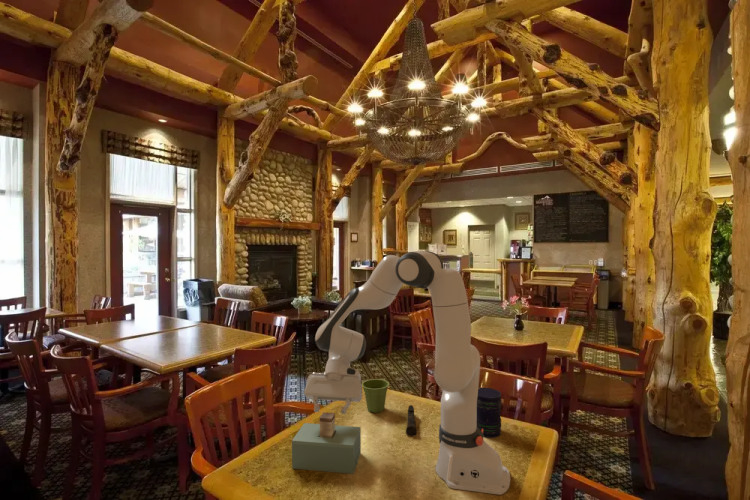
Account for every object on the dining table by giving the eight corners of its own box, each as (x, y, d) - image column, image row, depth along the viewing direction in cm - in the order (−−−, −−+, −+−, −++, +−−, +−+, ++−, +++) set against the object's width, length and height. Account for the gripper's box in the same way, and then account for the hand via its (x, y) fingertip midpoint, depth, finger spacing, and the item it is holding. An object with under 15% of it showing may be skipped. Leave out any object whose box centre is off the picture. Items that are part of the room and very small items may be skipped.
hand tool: (416, 437, 143) (416, 424, 143) (405, 436, 144) (405, 424, 144) (417, 414, 162) (417, 403, 162) (408, 414, 163) (408, 403, 163)
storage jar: (475, 436, 143) (475, 396, 143) (473, 424, 153) (473, 387, 152) (503, 439, 141) (503, 398, 141) (499, 426, 151) (499, 388, 151)
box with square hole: (360, 453, 132) (360, 427, 132) (353, 473, 121) (353, 445, 120) (304, 448, 135) (304, 423, 135) (292, 468, 124) (291, 440, 123)
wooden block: (334, 442, 130) (334, 413, 129) (331, 449, 126) (331, 418, 125) (323, 442, 130) (323, 412, 130) (319, 448, 126) (319, 417, 126)
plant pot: (377, 401, 175) (377, 376, 175) (394, 410, 166) (394, 384, 166) (356, 408, 168) (356, 383, 167) (373, 418, 158) (373, 391, 158)
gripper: (307, 368, 140) (298, 406, 130) (362, 371, 136) (357, 410, 127) (311, 376, 144) (302, 413, 135) (365, 379, 141) (360, 417, 131)
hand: (329, 412), depth 131 cm, fingers open, 8 cm apart
